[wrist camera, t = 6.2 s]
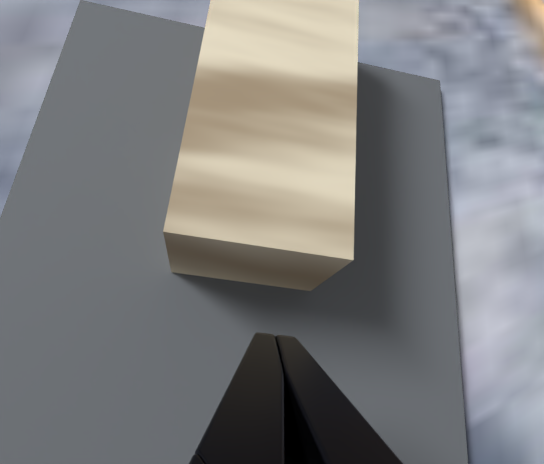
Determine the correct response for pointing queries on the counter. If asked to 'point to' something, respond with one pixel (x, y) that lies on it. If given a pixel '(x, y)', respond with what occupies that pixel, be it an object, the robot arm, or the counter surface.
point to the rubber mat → (204, 290)
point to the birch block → (269, 146)
